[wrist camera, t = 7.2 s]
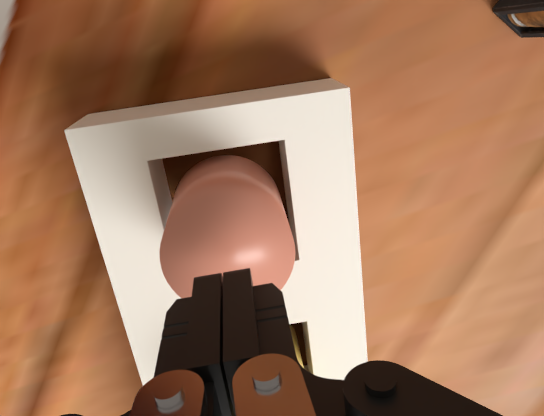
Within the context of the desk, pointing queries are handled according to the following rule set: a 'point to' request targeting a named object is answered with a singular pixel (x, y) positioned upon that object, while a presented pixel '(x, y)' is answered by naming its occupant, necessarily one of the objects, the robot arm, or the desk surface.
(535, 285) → the desk surface
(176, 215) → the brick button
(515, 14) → the ammunition clip
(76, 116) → the desk surface
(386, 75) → the desk surface
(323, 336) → the panel
